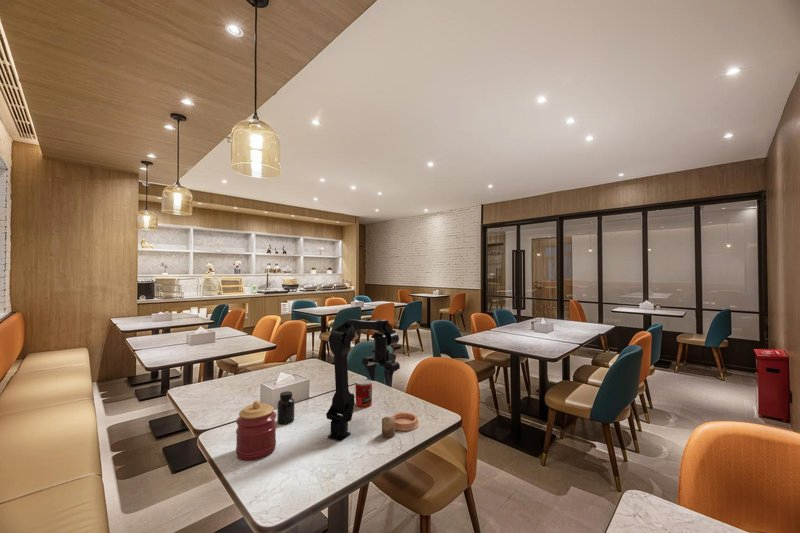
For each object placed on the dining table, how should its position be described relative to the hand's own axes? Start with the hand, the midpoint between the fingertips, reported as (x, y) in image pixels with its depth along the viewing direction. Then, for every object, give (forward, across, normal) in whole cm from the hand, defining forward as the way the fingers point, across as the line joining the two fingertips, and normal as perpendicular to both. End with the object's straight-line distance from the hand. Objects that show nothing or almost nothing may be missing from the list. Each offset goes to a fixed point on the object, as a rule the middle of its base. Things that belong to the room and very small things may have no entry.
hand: (380, 382), depth 149 cm
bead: (+14, -16, +11) cm, 24 cm away
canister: (+15, +10, +51) cm, 54 cm away
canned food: (+14, +14, -2) cm, 20 cm away
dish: (+14, -15, 0) cm, 20 cm away
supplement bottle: (+14, +24, +32) cm, 43 cm away
